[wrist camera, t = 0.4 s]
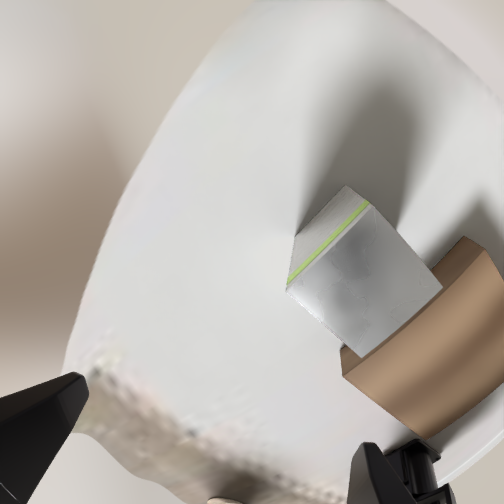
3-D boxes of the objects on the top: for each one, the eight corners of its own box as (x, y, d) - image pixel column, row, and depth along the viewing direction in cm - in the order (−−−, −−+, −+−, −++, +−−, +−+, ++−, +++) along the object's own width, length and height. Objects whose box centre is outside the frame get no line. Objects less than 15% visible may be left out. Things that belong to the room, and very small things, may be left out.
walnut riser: (521, 329, 18) (538, 347, 15) (419, 417, 22) (425, 440, 19) (466, 232, 17) (488, 245, 14) (339, 350, 21) (342, 376, 18)
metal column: (394, 235, 18) (443, 287, 10) (344, 283, 19) (361, 358, 12) (345, 184, 17) (373, 205, 10) (294, 236, 19) (285, 291, 11)
